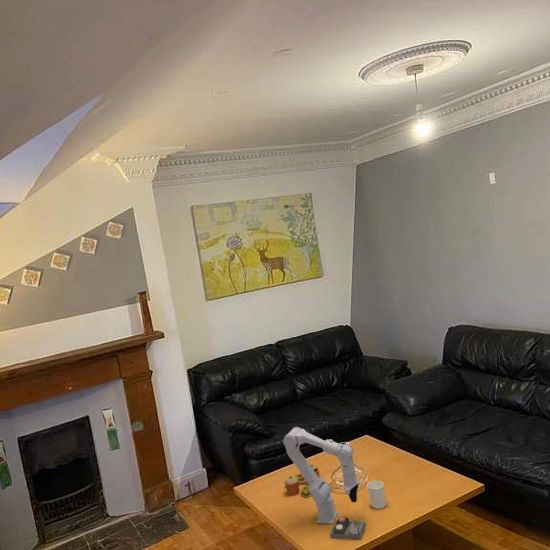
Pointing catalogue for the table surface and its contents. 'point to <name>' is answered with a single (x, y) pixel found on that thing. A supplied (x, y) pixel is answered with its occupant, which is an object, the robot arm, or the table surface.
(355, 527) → the slider knob
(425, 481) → the table surface
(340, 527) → the cream button
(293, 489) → the potted succulent plants
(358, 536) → the control panel
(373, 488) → the white cup
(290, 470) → the table surface
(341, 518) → the terracotta button
